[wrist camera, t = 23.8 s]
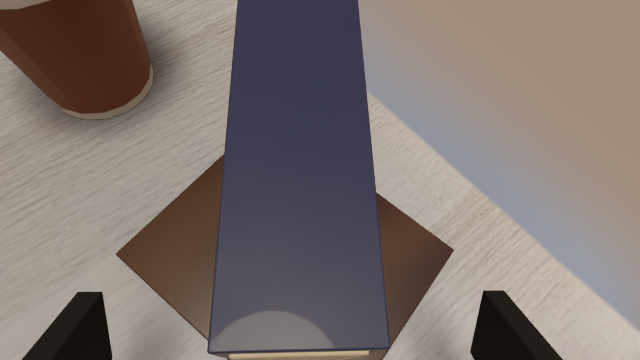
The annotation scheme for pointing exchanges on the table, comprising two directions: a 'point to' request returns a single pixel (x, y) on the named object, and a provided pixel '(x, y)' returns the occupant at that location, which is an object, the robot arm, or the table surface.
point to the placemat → (200, 251)
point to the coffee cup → (79, 53)
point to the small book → (298, 191)
